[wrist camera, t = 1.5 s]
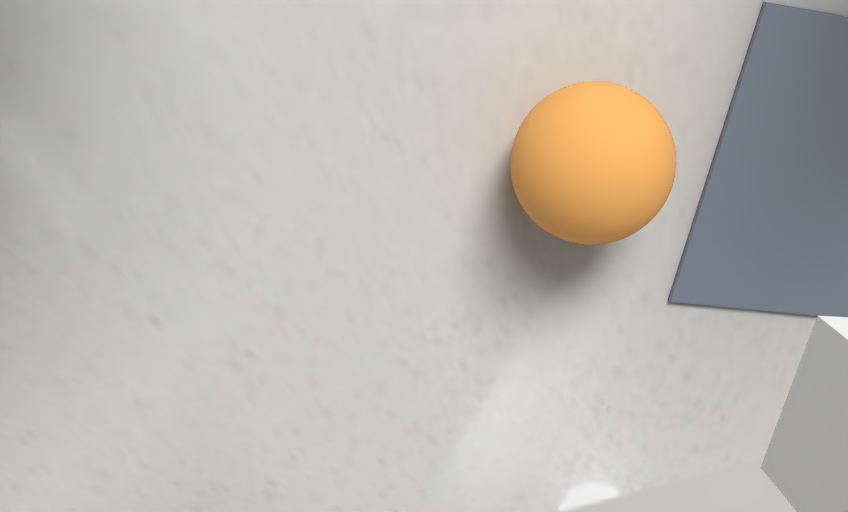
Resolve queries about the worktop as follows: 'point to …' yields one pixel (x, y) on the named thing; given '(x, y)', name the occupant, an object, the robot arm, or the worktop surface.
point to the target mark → (778, 177)
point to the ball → (593, 163)
